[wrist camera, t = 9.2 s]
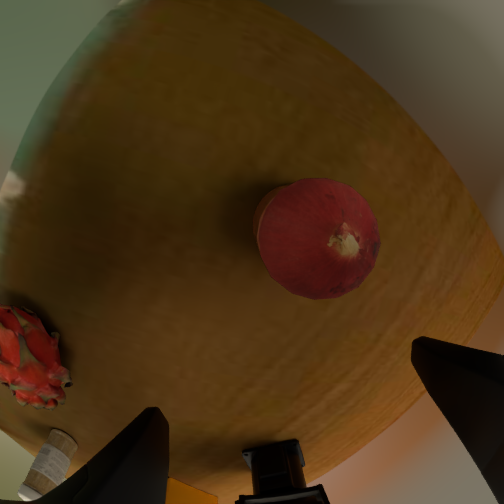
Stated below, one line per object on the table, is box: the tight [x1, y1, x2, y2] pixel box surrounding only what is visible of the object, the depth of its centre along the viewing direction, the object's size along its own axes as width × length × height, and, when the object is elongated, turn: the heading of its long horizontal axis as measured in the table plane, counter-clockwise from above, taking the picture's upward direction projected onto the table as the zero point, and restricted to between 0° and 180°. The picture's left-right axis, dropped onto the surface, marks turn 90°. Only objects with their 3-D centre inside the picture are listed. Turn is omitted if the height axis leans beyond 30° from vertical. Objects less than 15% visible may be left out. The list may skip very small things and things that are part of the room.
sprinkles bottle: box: [18, 429, 78, 501], centre depth 18 cm, size 5×5×14 cm
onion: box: [259, 178, 381, 300], centre depth 13 cm, size 6×6×8 cm
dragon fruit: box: [0, 304, 73, 411], centre depth 17 cm, size 8×8×12 cm
